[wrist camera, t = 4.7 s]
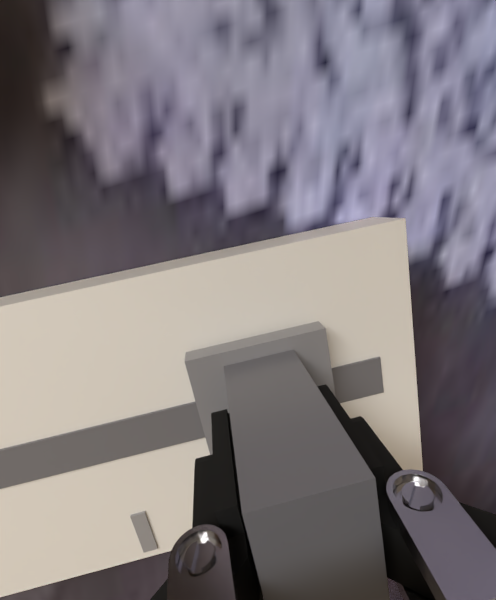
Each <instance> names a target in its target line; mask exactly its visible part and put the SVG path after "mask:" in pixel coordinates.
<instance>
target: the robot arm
mask: <svg viewBox="0 0 496 600" xmlns="http://www.w3.org/2000/svg"><path fill="white" fill-rule="evenodd" d="M317 387H318V389H319V390H320V392H321V393H322V395H323V397H324V398H325V400H326V401H327V403H328V404H329V406H330V408H331V409H332V411H333V412H334V414H335V415H336V417H337V419H338V420H339V422H340V423H341V425H342V426H343V428H344V430H345V431H346V433H347V434H348V436H349V437H350V439H351V441H352V442H353V444H354V445H355V447H356V448H357V450H358V451H359V453H360V455H361V456H362V458H363V459H364V461H365V462H366V464H367V466H368V467H369V469H370V470H371V472H372V473H373V475H374V477H375V479H376V488H377V496H378V505H379V513H380V522H381V530H382V539H383V547H384V556H385V564H386V573H387V577H388V578H390V579H392V580H394V581H396V582H397V585H398V588H399V591H400V593H401V596H402V598H403V600H496V515H495V514H492V513H489V512H486V511H483V510H480V509H477V508H474V507H471V506H468V505H465V504H462V503H459V502H458V501H457V500H456V498H455V497H454V496H453V495H452V493H451V492H450V491H449V490H448V488H447V487H446V486H445V485H444V484H443V483H442V482H441V481H440V480H439V479H438V478H436V477H435V476H433V475H431V474H429V473H426V472H424V471H421V470H413V469H409V470H403V469H402V468H401V467H400V465H399V464H398V463H397V461H396V460H395V459H394V457H393V456H392V455H391V454H390V452H389V451H388V450H387V448H386V447H385V446H384V444H383V443H382V442H381V440H380V439H379V438H378V436H377V435H376V434H375V433H374V431H373V430H372V429H371V427H370V426H369V425H368V423H367V422H366V421H365V419H364V418H363V417H361V416H359V417H355V418H351V419H350V417H349V416H348V414H347V413H346V411H345V410H344V409H343V407H342V406H341V404H340V403H339V401H338V400H337V399H336V397H335V396H334V394H333V393H332V391H331V390H330V389H329V387H328V386H327V385H326V384H325V385H321V386H317ZM211 423H212V451H213V454H212V455H208V456H204V457H200V458H196V459H195V468H194V495H193V522H192V529H189V530H188V531H187V532H185V533H184V534H183V535H182V536H181V537H180V538H179V539H178V540H177V542H176V543H175V544H174V546H173V548H172V550H171V552H170V557H169V564H168V579H167V580H166V581H165V583H164V584H163V585H162V586H161V587H160V589H159V590H158V591H157V592H156V593H155V595H154V596H153V597H152V598H151V599H150V600H263V594H262V589H261V585H260V581H259V577H258V573H257V570H256V566H255V562H254V558H253V554H252V550H251V546H250V543H249V539H248V535H247V531H246V527H245V523H244V520H243V516H242V510H241V502H240V494H239V486H238V477H237V469H236V461H235V453H234V445H233V437H232V429H231V421H230V413H228V411H227V409H225V410H221V411H217V412H213V413H211Z"/></svg>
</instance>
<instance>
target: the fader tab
mask: <svg viewBox="0 0 496 600" xmlns="http://www.w3.org/2000/svg"><path fill="white" fill-rule="evenodd" d="M185 365H186V369H187V373H188V376H189V380H190V383H191V387H192V391H193V394H194V398H195V402H196V405H197V409H198V412H199V416H200V420H201V423H202V427H203V431H204V434H205V438H206V441H207V445H208V449H209V452H210V455H212V454H213V451H212V423H211V413H213V412H217V411H221V410H225V409H227V411H228V413H230V421H231V429H232V437H233V445H234V453H235V461H236V469H237V477H238V486H239V494H240V502H241V510H242V516H243V520H244V523H245V527H246V531H247V535H248V539H249V543H250V546H251V550H252V554H253V558H254V562H255V566H256V570H257V573H258V577H259V581H260V585H261V589H262V593H263V597H264V600H390V598H389V590H388V581H387V573H386V564H385V556H384V547H383V539H382V530H381V522H380V513H379V505H378V496H377V488H376V479H375V477H374V475H373V473H372V472H371V470H370V469H369V467H368V466H367V464H366V462H365V461H364V459H363V458H362V456H361V455H360V453H359V451H358V450H357V448H356V447H355V445H354V444H353V442H352V441H351V439H350V437H349V436H348V434H347V433H346V431H345V430H344V428H343V426H342V425H341V423H340V422H339V420H338V419H337V417H336V415H335V414H334V412H333V411H332V409H331V408H330V406H329V404H328V403H327V401H326V400H325V398H324V397H323V395H322V393H321V392H320V390H319V389H318V387H317V386H321V385H325V384H326V385H327V386H328V387H329V389H330V390H331V391H332V393H333V394H334V396H335V389H334V382H333V375H332V368H331V361H330V354H329V348H328V341H327V334H326V328H325V327H324V326H323V325H322V324H321V323H320V322H319V321H317V322H312V323H308V324H304V325H300V326H295V327H291V328H287V329H283V330H278V331H274V332H270V333H265V334H261V335H257V336H253V337H248V338H244V339H240V340H236V341H231V342H227V343H223V344H219V345H214V346H210V347H206V348H202V349H197V350H193V351H189V352H186V354H185ZM335 397H336V396H335Z"/></svg>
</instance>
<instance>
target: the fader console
mask: <svg viewBox="0 0 496 600" xmlns="http://www.w3.org/2000/svg"><path fill="white" fill-rule="evenodd" d="M317 321H319V322H320V323H321V324H322V325H323V326H324V327H325V328H326V334H327V341H328V348H329V354H330V361H331V368H332V375H333V382H334V389H335V396H336V399H337V400H338V401H339V403H340V404H341V406H342V407H343V409H344V410H345V411H346V413H347V414H348V416H349V417H350V419H351V418H355V417H359V416H361V417H363V418H364V419H365V421H366V422H367V423H368V425H369V426H370V427H371V429H372V430H373V431H374V433H375V434H376V435H377V436H378V438H379V439H380V440H381V442H382V443H383V444H384V446H385V447H386V448H387V450H388V451H389V452H390V454H391V455H392V456H393V457H394V459H395V460H396V461H397V463H398V464H399V465H400V467H401V468H402V469H403V470H409V469H413V470H421V471H423V465H422V450H421V436H420V422H419V407H418V393H417V379H416V365H415V350H414V336H413V322H412V307H411V293H410V279H409V264H408V250H407V236H406V221H405V218H385V217H370V218H366V219H361V220H356V221H352V222H347V223H343V224H338V225H333V226H329V227H324V228H319V229H315V230H310V231H306V232H301V233H296V234H292V235H287V236H282V237H278V238H273V239H269V240H264V241H259V242H255V243H250V244H245V245H241V246H236V247H231V248H227V249H222V250H218V251H213V252H208V253H204V254H199V255H194V256H190V257H185V258H181V259H176V260H171V261H167V262H162V263H157V264H153V265H148V266H144V267H139V268H134V269H130V270H125V271H120V272H116V273H111V274H107V275H102V276H97V277H93V278H88V279H83V280H79V281H74V282H70V283H65V284H60V285H56V286H51V287H46V288H42V289H37V290H32V291H28V292H23V293H19V294H14V295H9V296H5V297H0V597H3V596H7V595H10V594H14V593H18V592H21V591H25V590H29V589H32V588H36V587H40V586H43V585H47V584H51V583H54V582H58V581H62V580H65V579H69V578H73V577H76V576H80V575H84V574H87V573H91V572H95V571H98V570H102V569H106V568H109V567H113V566H117V565H120V564H124V563H128V562H131V561H135V560H139V559H142V558H146V557H150V556H153V555H157V554H161V553H164V552H168V551H171V550H172V548H173V546H174V544H175V543H176V542H177V540H178V539H179V538H180V537H181V536H182V535H183V534H184V533H185V532H187V531H188V530H189V529H192V522H193V495H194V468H195V459H196V458H200V457H204V456H208V455H210V452H209V449H208V445H207V441H206V438H205V434H204V431H203V427H202V423H201V420H200V416H199V412H198V409H197V405H196V402H195V398H194V394H193V391H192V387H191V383H190V380H189V376H188V373H187V369H186V365H185V354H186V352H189V351H193V350H197V349H202V348H206V347H210V346H214V345H219V344H223V343H227V342H231V341H236V340H240V339H244V338H248V337H253V336H257V335H261V334H265V333H270V332H274V331H278V330H283V329H287V328H291V327H295V326H300V325H304V324H308V323H312V322H317Z"/></svg>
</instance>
